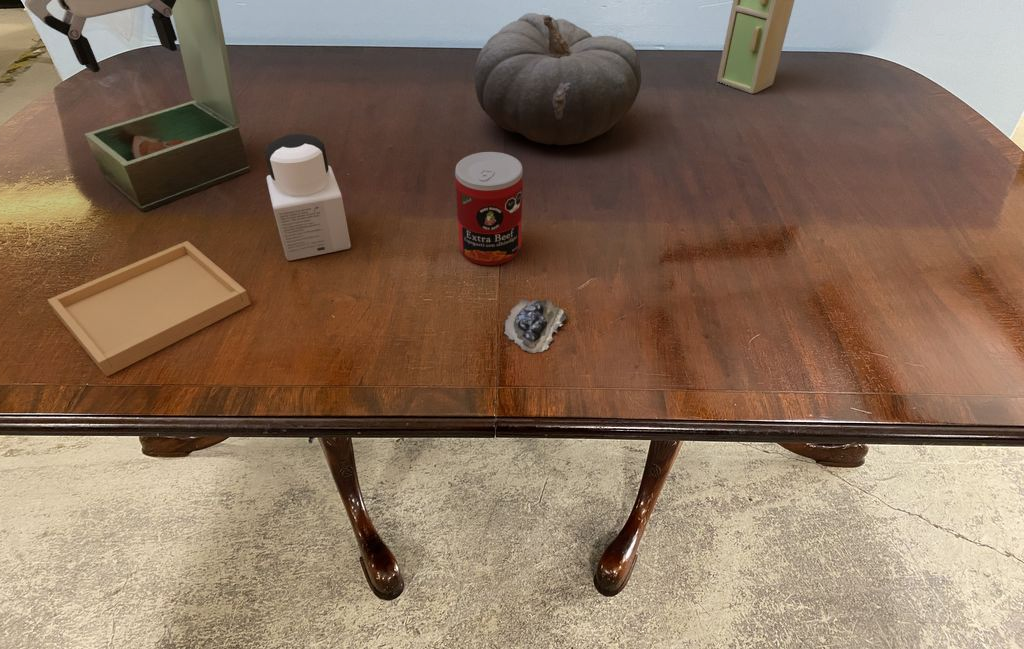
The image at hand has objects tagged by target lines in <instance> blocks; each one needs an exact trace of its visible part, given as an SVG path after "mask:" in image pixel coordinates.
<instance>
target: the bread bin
mask: <svg viewBox="0 0 1024 649" xmlns="http://www.w3.org/2000/svg"><path fill="white" fill-rule="evenodd" d="M84 136H85V138H86V141H87V143H88V145H89V147H90V150H91V152H92V154H93V156H94V159H95V161H96V163H97V165H98V167H99V170H100V173H101V174H102V176H103V179H104V180H105V181H106V182H107V183H108V184H110V185H111V186H112V187H113V188H114V189H116V190H117V191H118V192H119V193H121V194H122V196H124V197H125V198H126V199H127V200H128V201H130V202H131V203H132V204H133V205H134V206H135V207H136V208H137V209H139V210H140V211H141V212H142V213H145V212H149V211H151V210H153V209H156V208H159V207H161V206H164V205H167V204H169V203H171V202H174V201H176V200H179V199H182V198H184V197H187V196H190V195H192V194H195V193H197V192H200V191H203V190H206V189H208V188H210V187H213V186H215V185H217V184H220V183H224V182H226V181H229V180H232V179H234V178H237V177H239V176H242V175H245V174H247V173H250V172H251V167H250V164H249V160H248V156H247V153H246V150H245V146H244V143H243V138H242V135H241V132H240V127H239V126H238V125H237V124H234V123H232V122H231V121H229V120H227V119H226V118H224V117H223V116H221V115H219V114H218V113H216V112H214V111H213V110H211V109H209V108H208V107H206V106H204V105H203V104H201V103H200V102H198V101H196V100H195V99H193V100H191V101H188V102H184V103H181V104H178V105H175V106H171V107H168V108H164V109H161V110H157V111H154V112H151V113H148V114H144V115H141V116H138V117H134V118H132V119H129V120H128V119H127V120H126V121H122V122H118V123H116V124H115V123H114V124H112V125H109V126H105V127H101V128H99V129H95V130H93V131H90V132H89V131H88V132H86V133H84ZM134 136H145V137H151V138H157V137H158V139H160V140H164V141H169V140H186V141H187V142H184V143H181V144H178V145H175V146H172V147H169V148H167V149H164V150H161V151H158V152H155V153H152V154H149V155H146V156H143V157H140V158H137V159H135V158H134V154H133V152H132V144H133V139H134Z"/></svg>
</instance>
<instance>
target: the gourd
mask: <svg viewBox="0 0 1024 649" xmlns="http://www.w3.org/2000/svg"><path fill="white" fill-rule="evenodd" d="M474 66H475V67H474V88H475V93H476V98H477V101H478V103H479V106H480V108H481V109H482V111H483V112H484V113H485V114H486V115H487V116H488V117H489V118H490V119H491V120H492V121H493V122H494V123H495V124H496V125H497V126H499V127H500V128H502V129H503V130H504V131H508V132H510V133H517V134H518V133H519V134H520V135H523V136H524V137H525V138H526V139H527V140H529V141H532V142H535V143H539V144H544V145H550V146H551V145H556V146H569V145H576V144H581V143H584V142H587V141H589V140H592V139H593V138H596V137H599V136H602V135H603V134H605V133H606V132H607V131H609V130H610V129H611V128H612V127H613V126H614V125H615V124H616V123H617V122H618V121H620V120H621V119H622V118H623V117H624V116H625V115H626V114H627V113H628V112H629V111H630V110H631V108H632V107H633V105H634V104H635V102H636V100H637V97H638V95H639V92H640V89H641V85H642V70H641V63H640V60H639V56H638V52H637V51H636V49H635V47H634V46H633V45H632V44H631V43H630V42H628V41H627V40H625V39H624V38H621V37H617V36H613V35H597V36H596V35H595V36H593V35H592V34H591V33H590V32H589V31H587V30H586V29H584V28H582V27H580V26H577V25H576V24H574V23H573V22H570V21H569V20H567V19H563V18H557V19H555V18H554V17H552V16H551V15H549V14H548V15H547V14H539V13H537V12H528V13H525V14H523V15H522V16H520V17H519V18H518V19H517V20H514V21H512V22H510V23H508V24H506V25H504V26H503V27H501V29H500V30H498V32H496V33H495V34H494V35H491V37H490V38H488V40H487V42H486V43H485V44H484V46H483V47H482V48H481V50H480V52H479V53H478V56H477V58H476V61H475V65H474Z"/></svg>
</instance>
